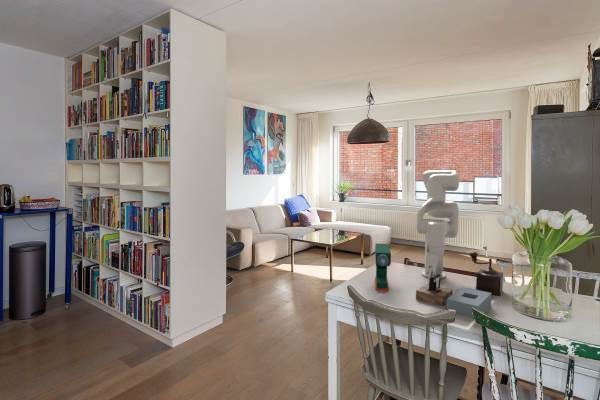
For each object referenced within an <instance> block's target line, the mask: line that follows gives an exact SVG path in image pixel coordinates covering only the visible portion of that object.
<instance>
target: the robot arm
mask: <svg viewBox="0 0 600 400" xmlns="http://www.w3.org/2000/svg"><path fill="white" fill-rule="evenodd" d="M422 181H423V184H424V187H425V189H426V192H427V195H426V201H425V202H423V204H421V205H420V208H418V210H417V215H416V231H417V233H418V234H420V235H423V236H424V241H425V242H424V243H425V244H424V245H425V246H424V251H425V252H424V270H423V271H421V276H423V277H424V278H425V277H426V278H427V279H428V285H429V290H433V291H436V285H437V282H436V276H437V277H439V288H440V287H441V279H444V278H446V276H447V275H446V273H445V272H443V271H444V254H445V248H446V246H445V245H446V241H445V240H446V238H447V239H455V238H457V237H458V235H459V205H458V203H457V202H456V201H452V200H449V201H448V200H447V199H446V198H447V197H446V192H455V191H458V190H459V188H460V187H459V186H460V178H459V174H458V172H457V171H456V170H449V169H448V170H447V169H446V170H444V169H443V170H440V169H438V170H426V171H424V172H423V174H422ZM425 214H427V216H429V218H424V215H425ZM446 219H448V220H446ZM432 276H434V278H433V277H432Z"/></svg>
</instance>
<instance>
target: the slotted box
mask: <svg viewBox="0 0 600 400" xmlns="http://www.w3.org/2000/svg"><path fill="white" fill-rule="evenodd" d="M472 307H475V308H476V309H478V310H480V311H482V312H484V314H486V313H487V311H488V310H489V309H490V308H491V307H492V295H491V293H489V292H484V291H480V290H476V288H471V287H465V286H462V287H460V288H459V289H458V290H456V291H455V292H454V293H452V295H451V296H450V297H449V298H447V303H446V310H448V309H454V310H456V313H455V314H458V315H462V316H466V317H470V318H473V314H472Z"/></svg>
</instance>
